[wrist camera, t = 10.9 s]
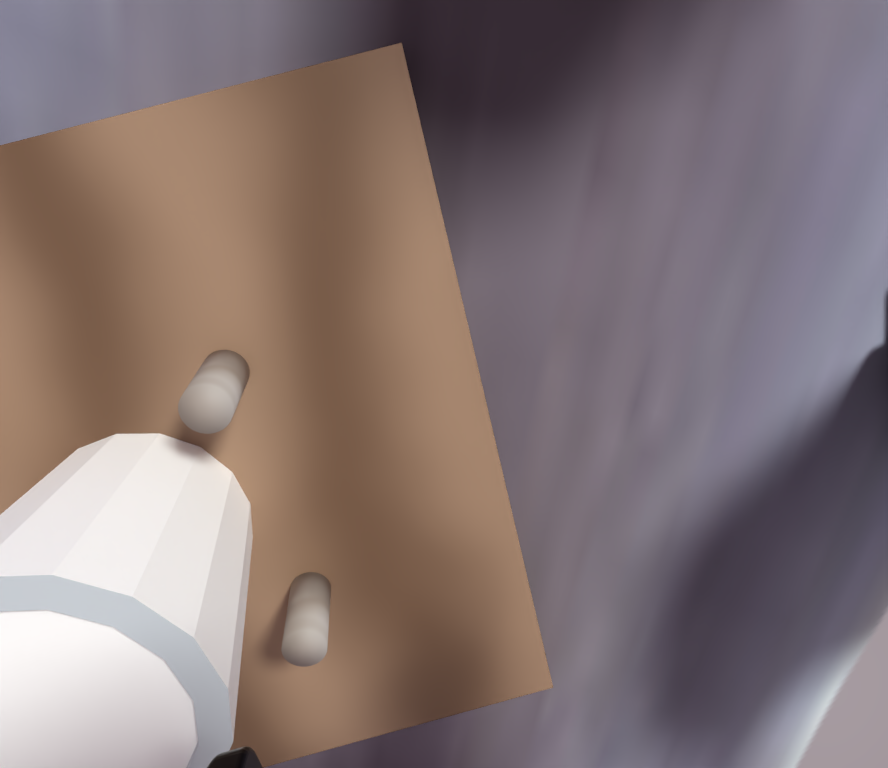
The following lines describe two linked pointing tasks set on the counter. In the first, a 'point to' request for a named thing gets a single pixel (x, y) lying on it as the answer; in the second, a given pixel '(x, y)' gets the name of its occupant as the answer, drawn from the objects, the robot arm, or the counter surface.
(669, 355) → the counter surface
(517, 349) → the counter surface
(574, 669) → the counter surface
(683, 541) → the counter surface
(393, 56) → the pin plate
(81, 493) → the shot glass
